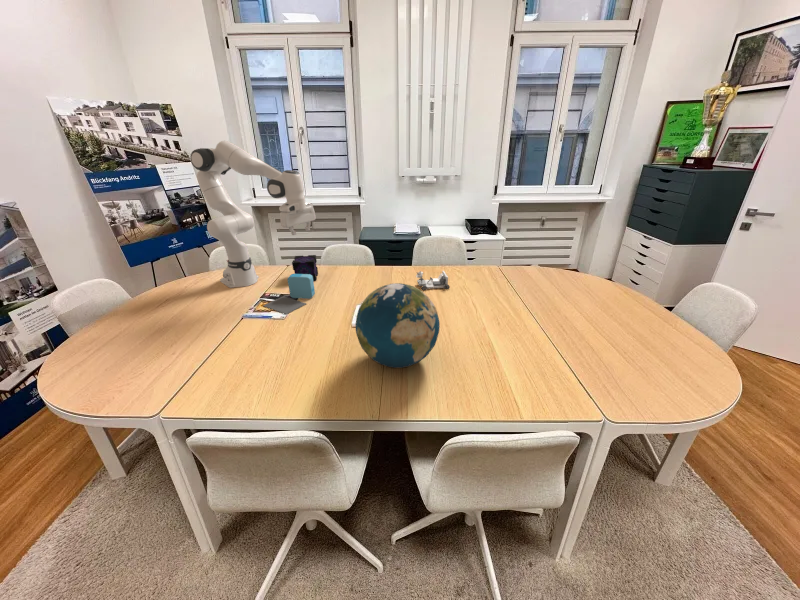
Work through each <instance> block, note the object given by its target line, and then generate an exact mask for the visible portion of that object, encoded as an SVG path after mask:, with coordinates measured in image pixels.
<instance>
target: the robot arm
mask: <svg viewBox="0 0 800 600" xmlns="http://www.w3.org/2000/svg"><path fill="white" fill-rule="evenodd" d="M189 158H190V162H191V165H192V167H194V169H196V170H198V172H197V173H196V179H197V182H198V185H199V188H200V190H201V192H202V194H203V196H204V198H205V200H206V202H207V204H208V206H209V207H210V208H211V209H212V210H215V211H217V212H220V213H221V214H222V215H220V216H217V217H214V218H212V219H210V220H209V221H208V222H207V225H206V229H207V232H208V234H209V235H210V236H211V237H213V238H214V239H216V240H218V241H219V242H220V243H221V244H222V245H223V247H224V249H225V253H226V256H227V260H226V263H227V267H225V269H224V270H223V271H222V276H223V277H221V278H220V279H219V282H221V284H223V285H225V286H226V287H228V288H231V289H232V288H233V289H234V288H241V287H242V288H243V287H248V286H251V285H254V284H256V283H257V282H258V279H259V275H258V274H257V272H256V268H255V266H254V264H253V262H252V259H251V256H250V253H249V248H248V245H247V244H246V243H245V242H244V241H241V240H239V239H238V237H237V235H240V234H243V233H246V232H248V231H250V230H252V229H253V227H254V226H255V220H254V218H253V216H252V214H250V213H249V212H246V211H244V210H243V209H241V208H240V207H239V206H238V205H236V204H235V202H234V201H233V200H232V197H230V195H229V192H228V190H227V189H226V187H225V186H224V185H225V184H224V183H223V182H222V179H221V175H222V176H223V175H224V176H225V175H226V174H227V172H228V171H230V170H231V169H232V170H233V171H234V172H236V173H239V174H241V175H243V176H260V177H265V178H267V179H268V181H267V184H266V190H267V192H268V194H269V195H270V196H271V198H273V199H284V198H286V201H285V203H283V204H281V205H280V206H279V208H278V210H279V212H280V213H279V219H280V220H279V221H280V226H281V227H283V228H286V229H288V230H289V231H290V233H291V235H292V236H295V235H297V231H296V230H294V227H295V226H298V225H304V224H306V227H305V229H304V230H305V231H306V232H308V231H311V225H312V222H313V221H316V217H317V216H316V212H315V209H314V205H313V203H312V202H307V201H306V197H305V195H304V183H303V178H302V176H301V174H300V172H299V171H296V170H295V169H294V170H293V169H292V170H290V169H287V170H284V171H280V170H279V169H278V168H276V167H274V166H272V165H270V164H268V163H267V162H264V161H263V160H262V159H259V158H258V157H256V156H254V155H252V154H251V153H249V152H248V151H246V150H244V149H243V148H242V147H240V146H238V145H237V144H235V143H232V142H230V141H229V140H221V141H219V142H218V143H217V144H216V146H215V148H211V147H210V148H203V147H200V148H196V149H194V150H193V151H191V153H190V157H189Z"/></svg>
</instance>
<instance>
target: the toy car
mask: <svg viewBox="0 0 800 600" xmlns="http://www.w3.org/2000/svg"><path fill="white" fill-rule="evenodd" d="M441 272H442V273H440V274H439V275H438V277H437V278H435V277H434V278H433V277H431V276H430V277H429V278H430V279H425V278H423V275H424V272H423V271H421V270H420V271H419V272H416V276H415V278H418V279H417V280H416V281H417V285H418V287H421V291H427V290H429V289H444V290H450V285H449V284H448V283H449V276H448V274H446V272H445V270H442V271H441Z"/></svg>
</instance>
